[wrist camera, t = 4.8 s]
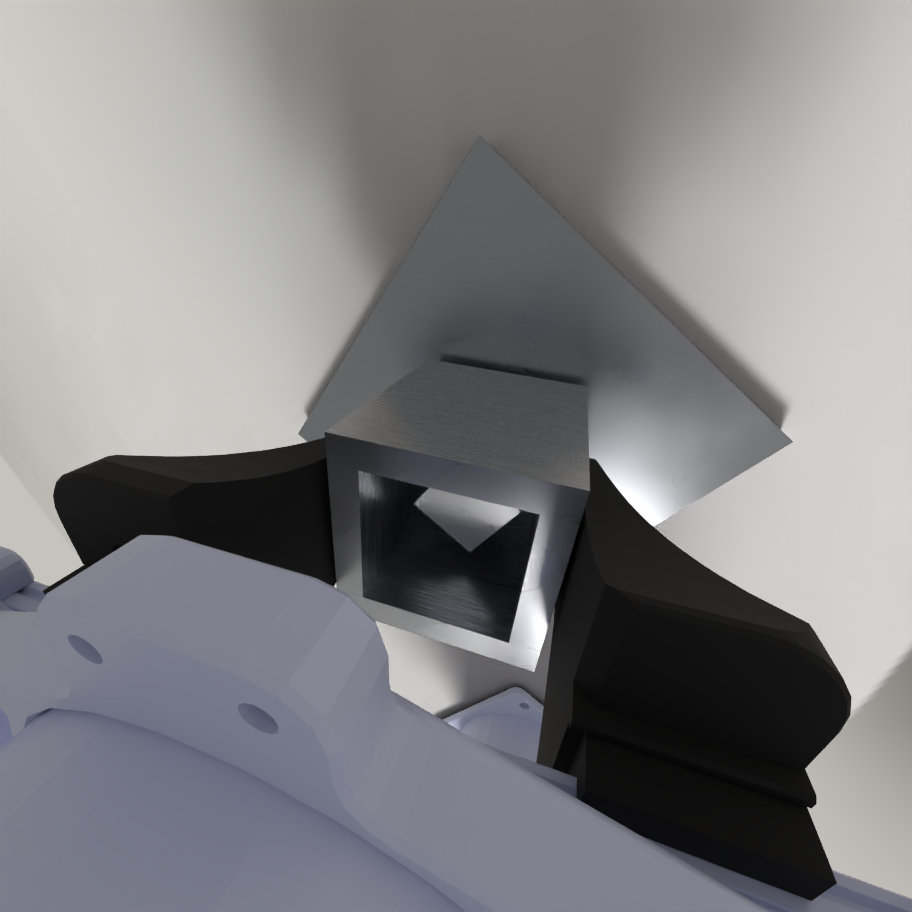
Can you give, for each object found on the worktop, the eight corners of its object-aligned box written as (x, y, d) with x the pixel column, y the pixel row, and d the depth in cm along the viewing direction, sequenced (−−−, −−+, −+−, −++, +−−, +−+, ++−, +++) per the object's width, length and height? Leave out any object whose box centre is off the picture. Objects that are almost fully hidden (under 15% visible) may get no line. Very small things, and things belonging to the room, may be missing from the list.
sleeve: (587, 386, 12) (590, 491, 7) (552, 519, 14) (534, 672, 9) (428, 359, 13) (324, 431, 8) (421, 487, 15) (338, 608, 10)
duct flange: (781, 431, 12) (900, 540, 7) (513, 599, 18) (488, 715, 14) (486, 142, 11) (413, 62, 6) (309, 426, 17) (209, 488, 12)
